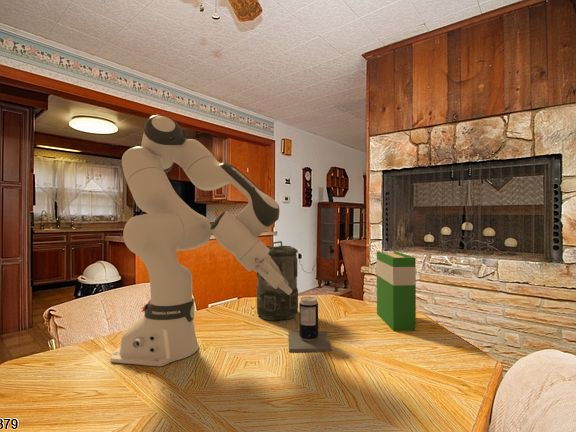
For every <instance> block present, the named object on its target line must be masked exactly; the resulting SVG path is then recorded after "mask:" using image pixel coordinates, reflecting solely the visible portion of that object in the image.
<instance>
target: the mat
mask: <svg viewBox="0 0 576 432" xmlns="http://www.w3.org/2000/svg"><path fill="white" fill-rule="evenodd" d="M287 335H288V352H289V353H291V352H292V353H297V352H298V353H299V352H300V353H301V352H302V353H303V352H304V353H306V352H307V353H308V352H310V353H311V352H312V353H314V352H316V353H317V352H321V353H322V352H323V353H324V352H333V348H332V345H331V343H330V339H329V336H328V333H327V331H326V330H318V337H317V338H316V339H315V340H313V341H305V340H303V339H302V338H301V337H300V330H297V331H295V330H294V331H293V330H292V331H290V330H289V331H288V334H287Z"/></svg>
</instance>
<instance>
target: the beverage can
mask: <svg viewBox="0 0 576 432" xmlns="http://www.w3.org/2000/svg"><path fill="white" fill-rule="evenodd" d="M298 313H299V318H298V319H299V323H298V325H299V331H300V337H301V338H302V339H303V340H305V341H313V340H315V339H316V338H317V337H318V331H319V302H318V298H317V297H314V296H302V297H301V298H300V301H299V302H298Z"/></svg>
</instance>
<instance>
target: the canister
mask: <svg viewBox="0 0 576 432" xmlns="http://www.w3.org/2000/svg"><path fill="white" fill-rule="evenodd" d="M275 244H280V245H278V246H274V245H275ZM266 246H267V247H268V248H269V249H270V251H269V253H268V254H269V255H270V256H271V259H272V260H273V261H274V262H275V264H276V265H277V266H278V268H279V270H280V272H281V274H282V276H283V277H284V278H285V279H286V280H287V281H288V283H289V284H288V286H289V287H290V288H291V289H292V293H291V294H290V295H288V294H286V293H285V292H284V291H283V290H281V289H280V288H279V287H278V288H277V289H275V288H273V287H272V286H271V285H270V284H269V283H268V282H267V281H266V280H265V279H264V278H263V277H262V276H261V275H260V274H259V273H258V272H256V277H257V286H256V314H257V315H258V316H260V317H261V319H263V320H267V321H272V320H273V321H277V320H279V321H280V320H286V321H287V320H291V319H294V317H295V318H296V316H297V314H298V313H299V289H298V283H297V282H298V257H297V256H298V255H297V254H298V252H299V251H298V249H296V248H295V247H292V246H291V245H283V241H282V240H278V241H273V242H272V243H271V246H270V245H266Z"/></svg>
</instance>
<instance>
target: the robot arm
mask: <svg viewBox="0 0 576 432" xmlns="http://www.w3.org/2000/svg"><path fill="white" fill-rule="evenodd" d="M140 145H141V146H134V147H131V148H128V149H127V150H126V151H125V152H124V153H123V155H122V157H121V166H122V170H123V175H124V178H125V181H126V183H127V186H128V188H129V191H130V192H131V195H132V198H133V200H134V202H135V204H136V206H137V207H138V208H139V209H140V210H141V211H143V212H144V214H139V215H135V216H131V217H130V218H129V219H128V220H127V222H126V224H125V225H124V228H123V231H122V232H123V233H122V235H123V237H122V238H123V241H124V244H125V246H126V247H127V249H129V251H130V252H131V253H133V254H135V255H136V256H138V257H139V259H140V260H141V261H142V262H143V264H144V265H145V267H146V269H147V273H148V277H149V289H150V300H148V303H146V304H144V306H142V308H141V309H140V310H141V313H144V316H142V317H141V318H140V319H139V320H137V321H136V322H135V323H134V324H132V325H131V326H130V327H129V328H128V329H127V330H126V331H125V332H124V333H123V335H122V337H121V342H120V346H118V347H117V348H116V349H115V350H113V352H112V354H111V356H110V361H111V363H118V364H127V365H128V364H130V365H139V366H150V367H152V366H153V367H163V366H166V365H168V364H170V363H172V362H176V361H180V360H183V359H186V358H187V357H190V356H192V355H193V354H195V353H196V352H197V351H198V350H199V348H200V345H199V343H198V339H197V336H196V331H195V323H194V319H195V308H196V306H195V299H194V297H193V274H192V271H191V270H190V269H189V268H188V267H187V266H186V265H184V264H181V263H180V262H179V260H178V256H177V252H180V251H181V252H182V251H189V250H196V249H197V248H201V247H203V246H205V245H207V244H208V243H209V241H210V240H211V237H212V235H213V237H214V238H215V240H216V241H217V242H218V243H219V244H220V245H221V246H222V247H223V248H224V249H225V250H226V251H227V252H229V253H230V254H232V255H233V256H234V257H235V260H237V262H239V263H240V264H241V266H243V267H244V268H245V270H247V271H248V272H252V271H254V273H257V272H258V273H259V274H260V275H261V276H262V277H263V278H264V279H265V280H266V281H267V282H268V283H269V284H270V285H271V286H272V287H273V288H275V289H277V288H278V287H279V288H280V289H281V290H283V291H284V292H285V293H286V294H288V295H290V294H291V293H292V289H291V288H290V287H289V286H288V284H289V283H288V281H287V280H286V279H285V278H284V277H283V276H282V274H281V272H280V270H279V268H278V266H277V265H276V264H275V262H274V261H273V260H272V259H271V256H270V255H269V254H268V253H269V251H270V249H269V248H268V247H267V246H268V245H266V244H265V243H263V241H261V240H260V238H259V237H260V236H261V235H262V234H263V233H265V231H266V230H267V229H268V228H270V227H271V226H272V225H273V224H275V223H276V222H277V221H278V220H279V218H280V205H279V203H278V202H277V201H276V200H275V199H274V198H272V197H271V196H270V195H268V194H267V193H266V192H264V191H263V190H262V189H261V188H260V187H259V186H258V185H256V183H254V182H253V181H252V180H251V179H250V178H248V176H247V175H245V174H244V173H243V172H242V171H240V169H238V168H237V167H235V166H234V165H232V164H231V163H230V162H229V163H228V162H220V161H218V160H217V159H216V157H215V156H214V155H213V154H212V153H211V151H210V150H209V149H208V148H206V147H205V145H204V144H202V143H201V142H200V141H199V140H197V139H193V138H188V139H187V134H186V132H185V130H184V129H182V128H181V126H180V125H179V124H178V123H177V122H176V121H175V120H174V119H173V118H172V117H169V116H168V115H163V114H156V115H151V116H150V117H149V118H147V120H146V122H145V123H144V126H143V135H142V139H141V143H140ZM175 164H177V165H178V166H180V168H182V171H183V172H184V173H185V175H186V177H188V179H189V180H190V182H191V183H192V185H194V186H195V187H196V188H197V189H199V190H201V191H206V192H207V191H208V192H209V191H215V190H218V189H221V188H223V187H225V186H227V185H230V184H231V185H233V187H235V188H236V189H237V190H238V191H239V192H240V193H241V194H242V195H244V196H245V197H246V198H247V200H248V202H247V205H245V207H244V208H243V209H241V211H240V212H239V213H237V214H234V215H233V214H232V213H231V212H229V211H227V210H225V211H223V212H221V213H220V214H219V215H218V216H217V217H216V218H215V220H214V221H213V222H212V224H211V222H210V221H209V219H208V218H207V217H206V216H204V215H203V214H200V213H198V212H197V211H195V210H194V209H193V208H191V206H189V205H188V204H187V202H185V201H184V200H183V199H182V198H181V197H180V196H179V195H178V194H177V192H176V190H175V189H174V187H173V186H172V183H171V182H170V180H169V178H168V175H167V173H169V172H170V171H171V170H172V168H173V166H174V165H175Z"/></svg>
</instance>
